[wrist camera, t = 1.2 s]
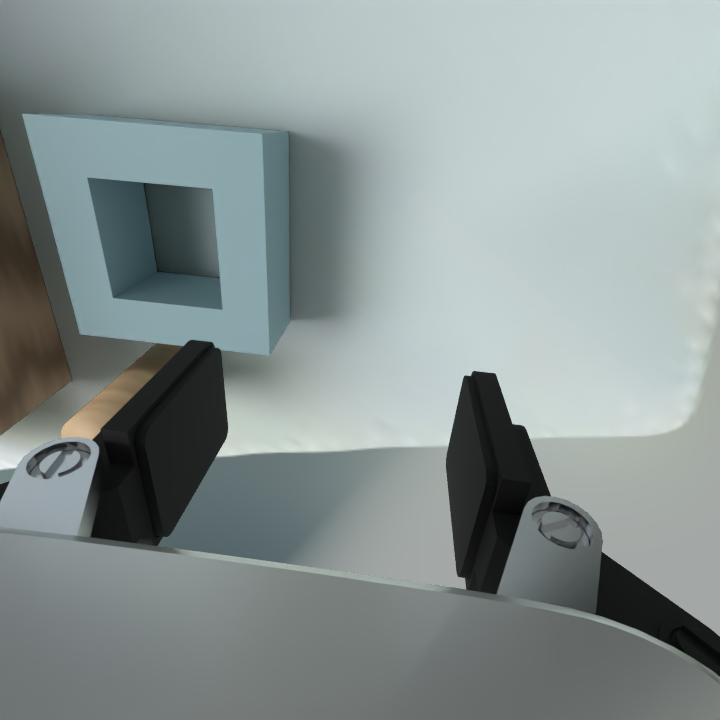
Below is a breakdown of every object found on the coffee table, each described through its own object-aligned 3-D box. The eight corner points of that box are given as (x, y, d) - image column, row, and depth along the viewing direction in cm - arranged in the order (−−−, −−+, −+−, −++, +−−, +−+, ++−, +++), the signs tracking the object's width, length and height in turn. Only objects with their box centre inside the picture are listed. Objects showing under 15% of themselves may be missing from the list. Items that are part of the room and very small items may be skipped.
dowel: (150, 332, 32) (52, 412, 23) (203, 338, 32) (125, 421, 23) (158, 379, 34) (70, 469, 25) (208, 385, 34) (138, 478, 25)
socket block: (89, 114, 25) (21, 113, 21) (288, 131, 25) (262, 133, 20) (126, 303, 31) (80, 334, 26) (289, 321, 30) (269, 355, 26)
